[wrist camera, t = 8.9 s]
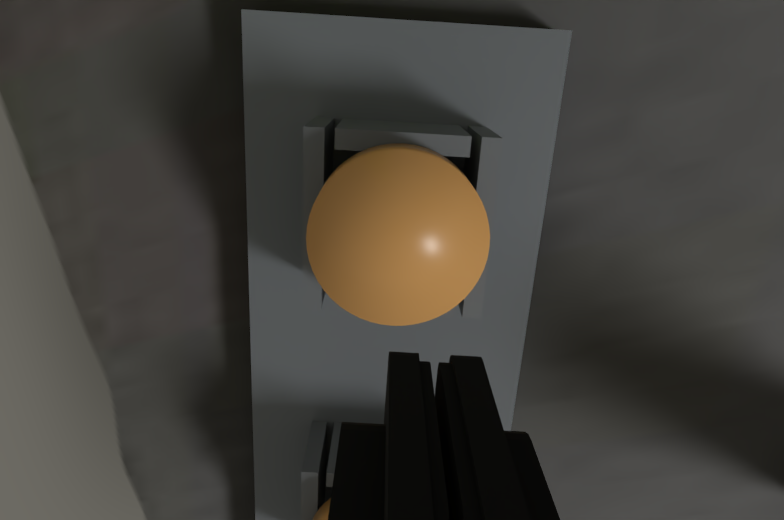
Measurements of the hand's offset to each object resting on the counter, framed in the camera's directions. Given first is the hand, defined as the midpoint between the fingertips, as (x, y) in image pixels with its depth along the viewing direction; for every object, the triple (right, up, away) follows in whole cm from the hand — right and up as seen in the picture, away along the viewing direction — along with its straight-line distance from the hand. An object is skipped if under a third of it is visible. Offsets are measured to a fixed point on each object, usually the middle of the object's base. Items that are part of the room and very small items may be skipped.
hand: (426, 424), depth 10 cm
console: (-1, -1, +21) cm, 21 cm away
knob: (0, +6, +16) cm, 17 cm away
